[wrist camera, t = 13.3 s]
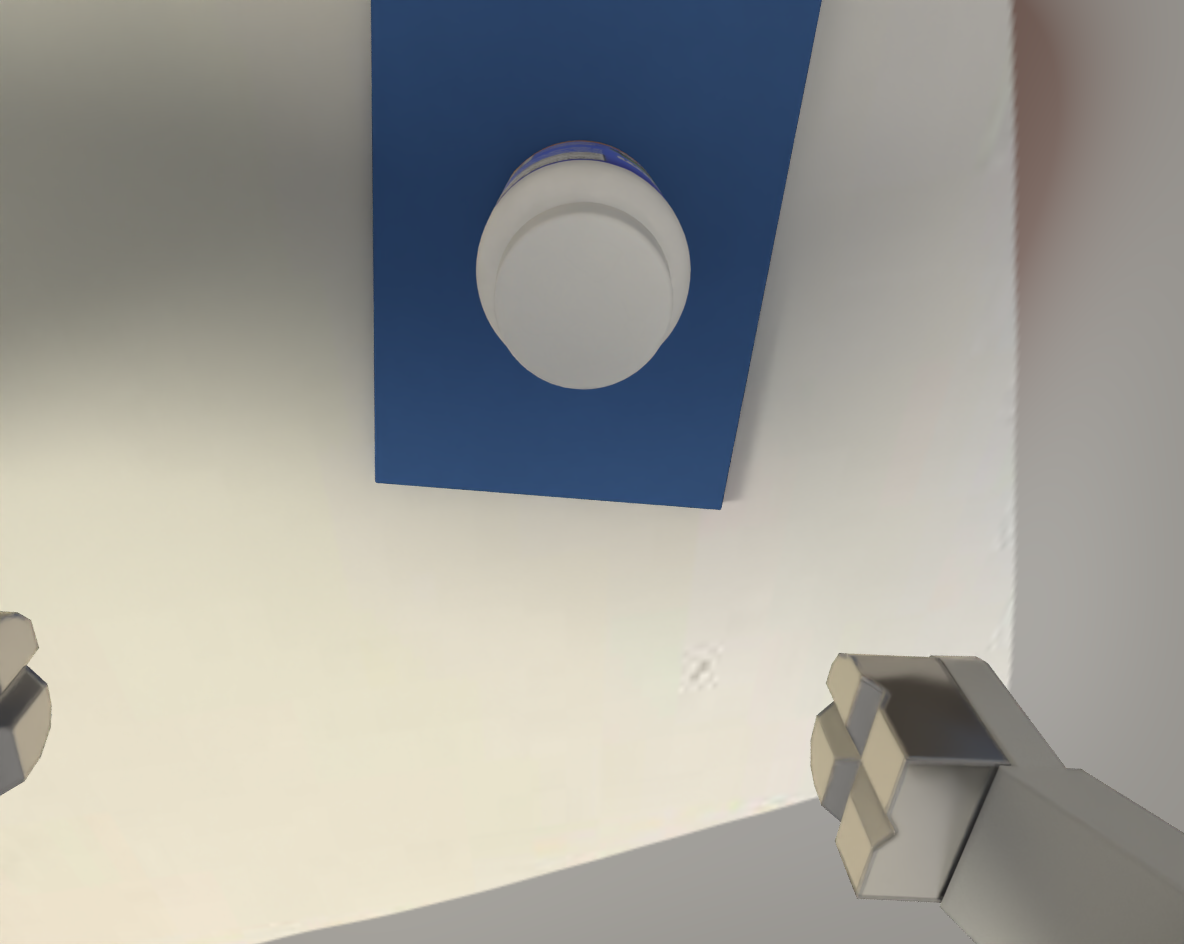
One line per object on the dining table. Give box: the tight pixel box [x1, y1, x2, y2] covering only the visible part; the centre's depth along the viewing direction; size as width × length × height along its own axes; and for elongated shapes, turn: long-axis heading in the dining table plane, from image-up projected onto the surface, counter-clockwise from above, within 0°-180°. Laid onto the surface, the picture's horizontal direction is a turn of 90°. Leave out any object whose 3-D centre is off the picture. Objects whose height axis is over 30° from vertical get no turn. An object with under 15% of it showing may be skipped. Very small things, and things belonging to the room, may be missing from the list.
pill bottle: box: [476, 141, 691, 389], centre depth 23 cm, size 5×5×10 cm
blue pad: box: [371, 0, 822, 510], centre depth 27 cm, size 13×20×1 cm, turn 174°
